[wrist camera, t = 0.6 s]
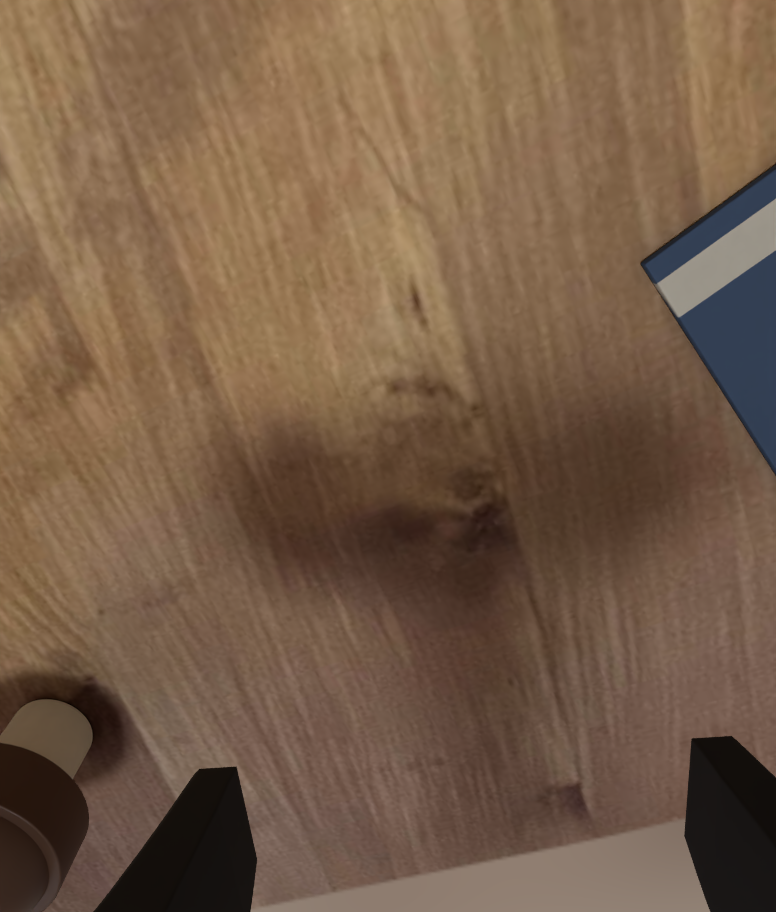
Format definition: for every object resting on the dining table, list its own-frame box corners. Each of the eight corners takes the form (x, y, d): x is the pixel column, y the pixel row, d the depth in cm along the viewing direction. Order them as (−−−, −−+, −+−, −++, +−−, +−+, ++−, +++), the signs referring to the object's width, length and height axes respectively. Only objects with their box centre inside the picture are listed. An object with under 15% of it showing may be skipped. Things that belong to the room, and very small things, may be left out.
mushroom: (135, 787, 26) (44, 998, 19) (-5, 784, 26) (-145, 994, 19) (117, 670, 24) (8, 859, 17) (-35, 668, 24) (-202, 855, 18)
